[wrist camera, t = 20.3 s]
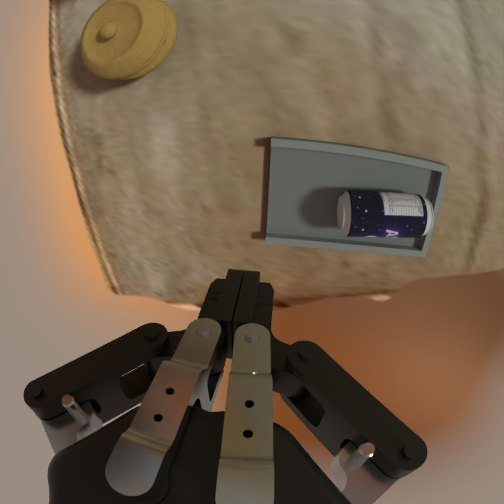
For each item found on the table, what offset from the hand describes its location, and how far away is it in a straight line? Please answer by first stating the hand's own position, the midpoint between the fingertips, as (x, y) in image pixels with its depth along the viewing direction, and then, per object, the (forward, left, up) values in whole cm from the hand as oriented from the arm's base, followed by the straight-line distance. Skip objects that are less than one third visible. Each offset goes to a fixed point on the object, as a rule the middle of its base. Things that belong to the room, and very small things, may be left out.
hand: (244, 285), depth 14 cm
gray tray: (+12, -3, -25) cm, 28 cm away
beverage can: (+9, -4, -21) cm, 23 cm away
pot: (-17, +18, -25) cm, 35 cm away
